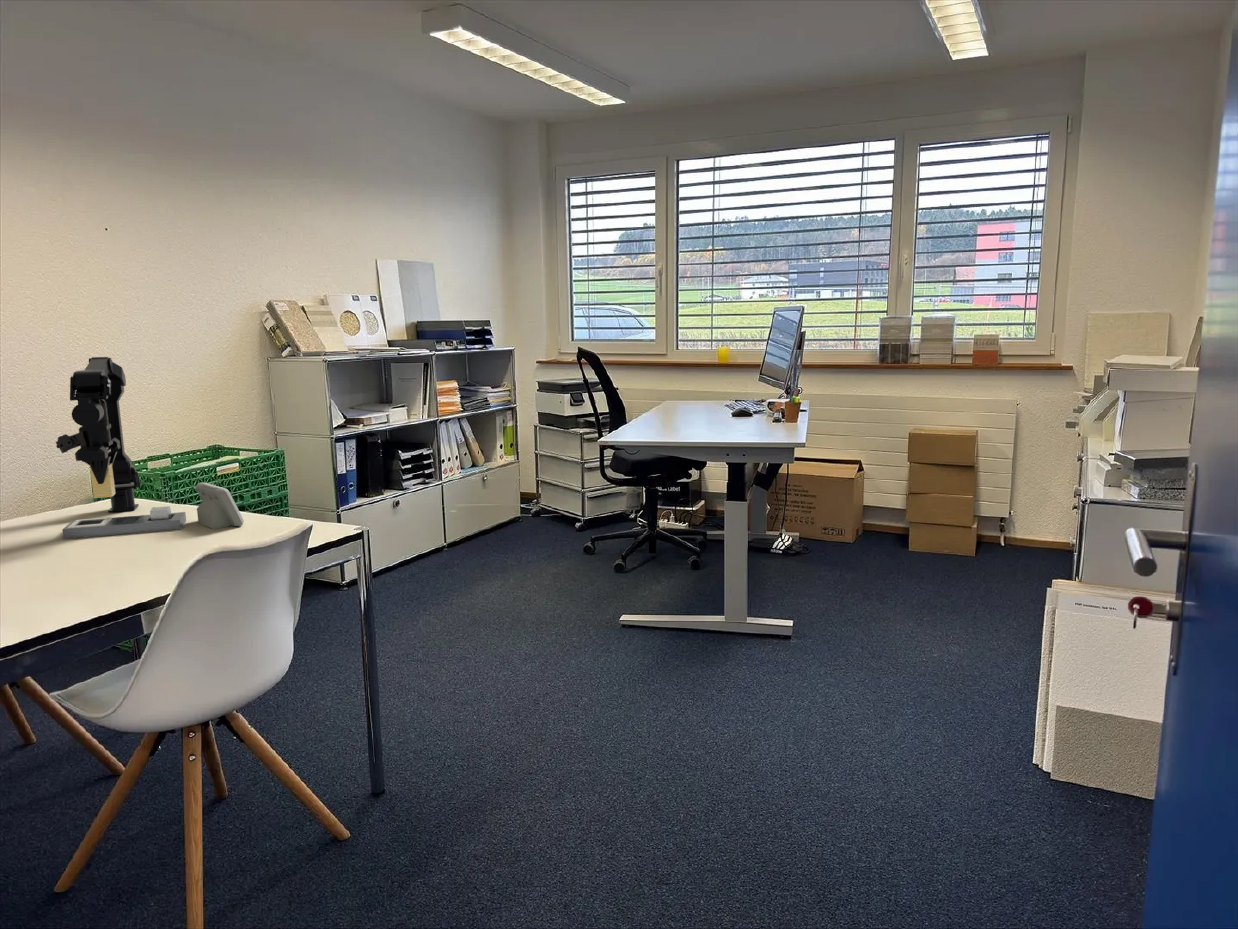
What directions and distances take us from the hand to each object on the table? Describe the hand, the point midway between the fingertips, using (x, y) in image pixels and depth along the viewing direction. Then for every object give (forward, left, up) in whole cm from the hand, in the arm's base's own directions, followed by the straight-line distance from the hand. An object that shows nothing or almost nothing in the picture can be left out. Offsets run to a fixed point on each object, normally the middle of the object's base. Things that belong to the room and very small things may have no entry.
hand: (102, 482), depth 205 cm
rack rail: (0, +4, -13) cm, 14 cm away
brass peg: (0, 0, -4) cm, 4 cm away
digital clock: (+2, +26, -13) cm, 30 cm away
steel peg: (0, +12, -13) cm, 18 cm away
